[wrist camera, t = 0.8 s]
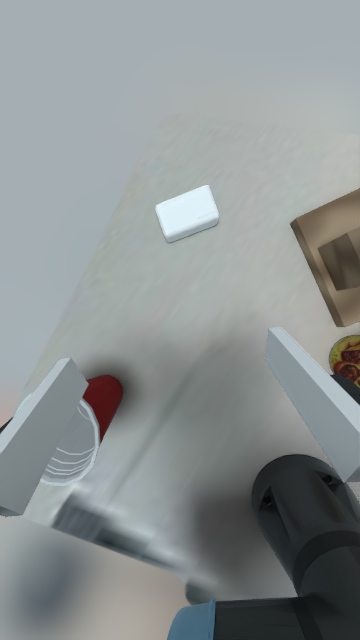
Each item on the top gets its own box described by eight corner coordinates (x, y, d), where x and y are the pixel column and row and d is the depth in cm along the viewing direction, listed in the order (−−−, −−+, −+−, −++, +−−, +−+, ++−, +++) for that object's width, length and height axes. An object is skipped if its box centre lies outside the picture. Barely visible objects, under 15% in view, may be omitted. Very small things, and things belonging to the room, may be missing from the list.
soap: (167, 245, 29) (164, 237, 26) (157, 214, 29) (153, 203, 26) (218, 226, 29) (221, 215, 26) (207, 195, 29) (209, 180, 26)
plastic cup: (94, 348, 30) (30, 370, 18) (147, 379, 30) (116, 422, 18) (67, 400, 31) (-12, 453, 19) (118, 431, 30) (69, 507, 18)
